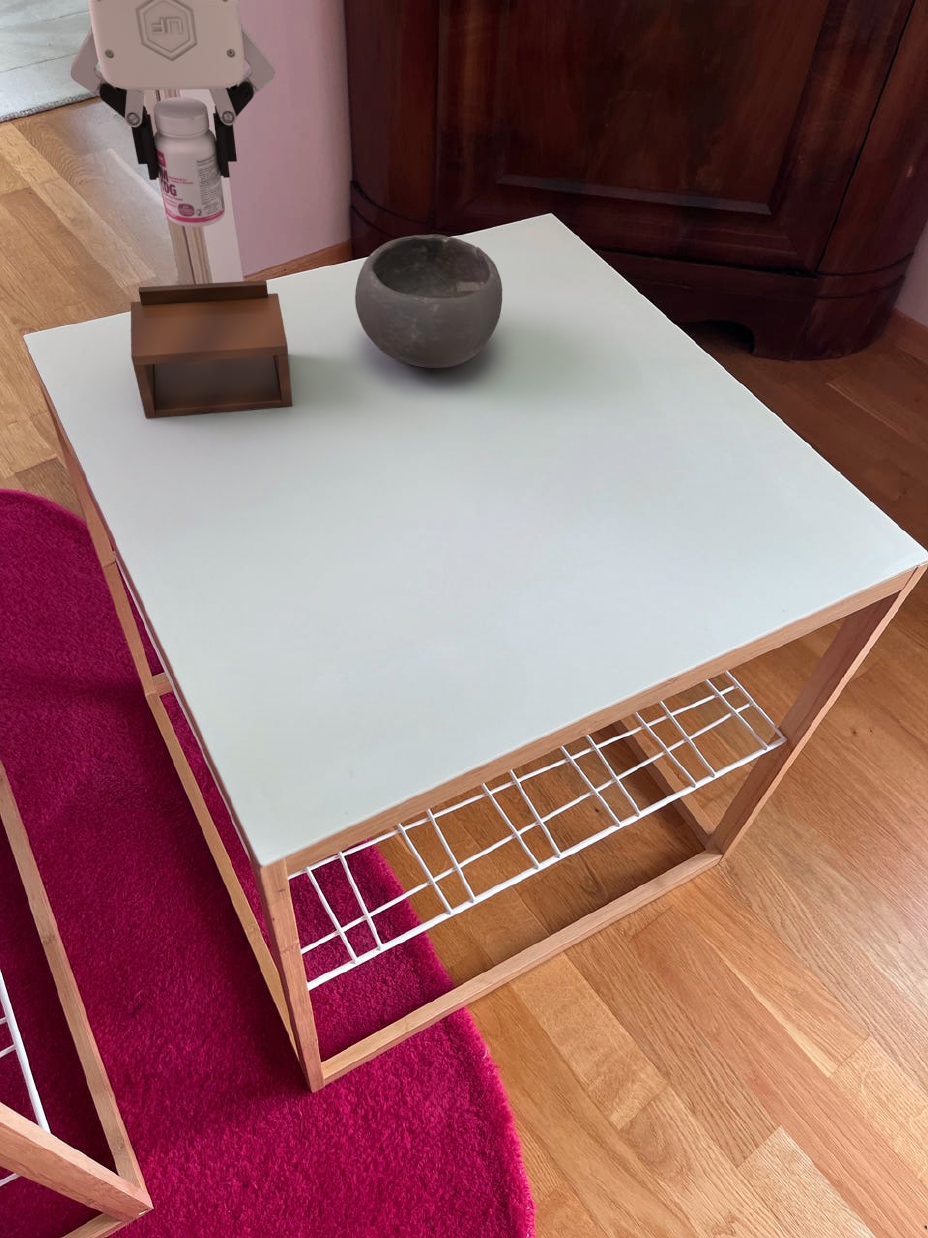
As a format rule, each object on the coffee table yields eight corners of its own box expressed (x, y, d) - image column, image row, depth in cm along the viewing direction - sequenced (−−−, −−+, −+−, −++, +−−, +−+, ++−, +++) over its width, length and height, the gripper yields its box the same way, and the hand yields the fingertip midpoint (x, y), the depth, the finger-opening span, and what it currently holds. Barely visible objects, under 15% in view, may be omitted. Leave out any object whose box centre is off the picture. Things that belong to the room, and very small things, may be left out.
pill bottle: (153, 217, 77) (133, 109, 71) (191, 195, 80) (175, 88, 74) (201, 235, 76) (184, 125, 70) (237, 211, 79) (225, 104, 73)
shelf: (145, 418, 91) (127, 341, 84) (144, 363, 96) (127, 287, 90) (292, 406, 94) (286, 331, 87) (283, 353, 99) (276, 278, 93)
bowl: (383, 301, 107) (383, 215, 99) (510, 329, 105) (521, 244, 97) (335, 374, 97) (331, 286, 90) (474, 407, 95) (483, 319, 88)
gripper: (3, -98, 58) (75, 197, 72) (285, -91, 61) (302, 189, 75) (13, -130, 62) (79, 152, 76) (274, -123, 66) (292, 147, 79)
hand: (189, 168), depth 75 cm, fingers closed on pill bottle, 4 cm apart
